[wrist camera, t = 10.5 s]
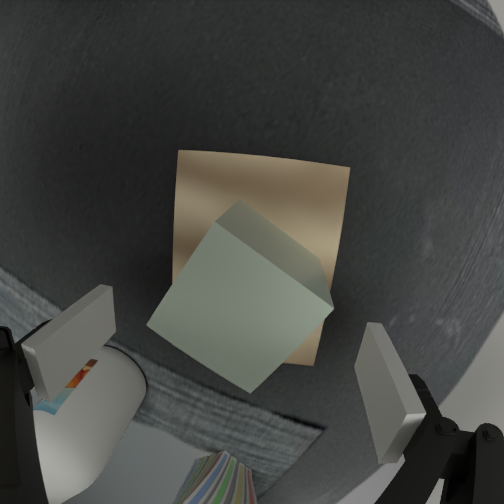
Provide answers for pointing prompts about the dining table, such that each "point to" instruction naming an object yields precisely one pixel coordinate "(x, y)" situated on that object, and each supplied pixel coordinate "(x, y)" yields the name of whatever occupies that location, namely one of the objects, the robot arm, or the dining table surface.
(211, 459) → the vase
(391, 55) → the dining table surface
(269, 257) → the pale green block
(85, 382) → the milk bottle
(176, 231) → the post base
